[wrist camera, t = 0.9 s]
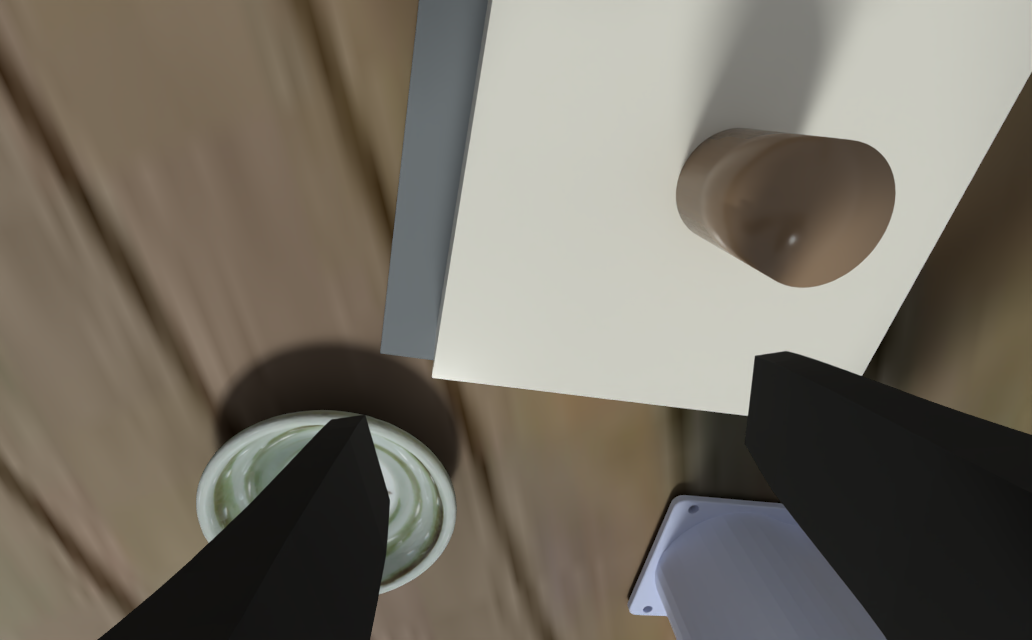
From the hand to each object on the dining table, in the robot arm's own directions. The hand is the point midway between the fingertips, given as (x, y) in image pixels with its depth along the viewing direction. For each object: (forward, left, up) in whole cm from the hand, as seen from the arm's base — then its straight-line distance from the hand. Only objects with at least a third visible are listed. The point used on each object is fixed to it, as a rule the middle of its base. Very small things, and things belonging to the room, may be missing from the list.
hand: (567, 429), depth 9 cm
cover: (-5, -4, -9) cm, 11 cm away
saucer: (+5, +11, -10) cm, 15 cm away
